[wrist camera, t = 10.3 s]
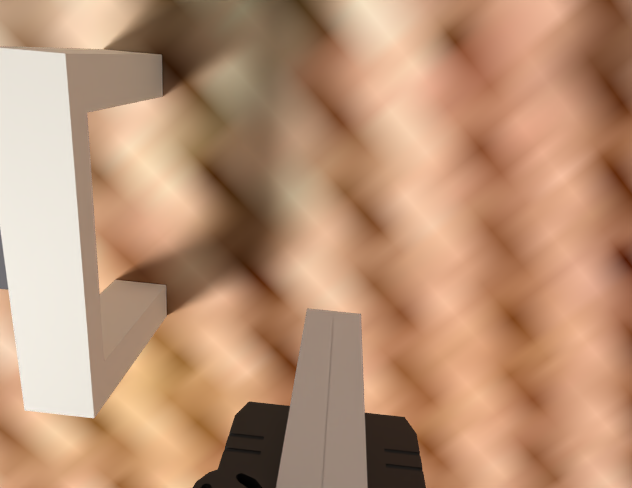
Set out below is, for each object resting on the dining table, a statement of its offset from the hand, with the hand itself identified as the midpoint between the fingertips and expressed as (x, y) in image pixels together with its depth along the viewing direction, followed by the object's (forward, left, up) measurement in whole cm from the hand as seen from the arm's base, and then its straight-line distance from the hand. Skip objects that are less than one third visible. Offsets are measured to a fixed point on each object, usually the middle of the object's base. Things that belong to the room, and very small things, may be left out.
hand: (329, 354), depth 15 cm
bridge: (+11, 0, -14) cm, 18 cm away
